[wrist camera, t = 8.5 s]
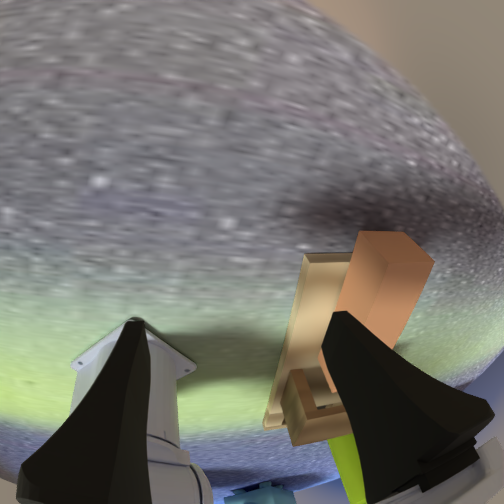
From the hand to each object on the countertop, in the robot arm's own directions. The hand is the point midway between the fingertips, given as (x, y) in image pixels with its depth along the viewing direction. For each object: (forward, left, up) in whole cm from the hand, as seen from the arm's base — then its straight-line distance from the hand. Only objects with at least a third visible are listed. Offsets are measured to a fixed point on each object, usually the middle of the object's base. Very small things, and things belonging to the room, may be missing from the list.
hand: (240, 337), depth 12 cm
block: (+5, -12, -8) cm, 15 cm away
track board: (-1, -19, -10) cm, 21 cm away
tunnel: (-3, -21, -9) cm, 23 cm away
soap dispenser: (-8, -42, -10) cm, 44 cm away
